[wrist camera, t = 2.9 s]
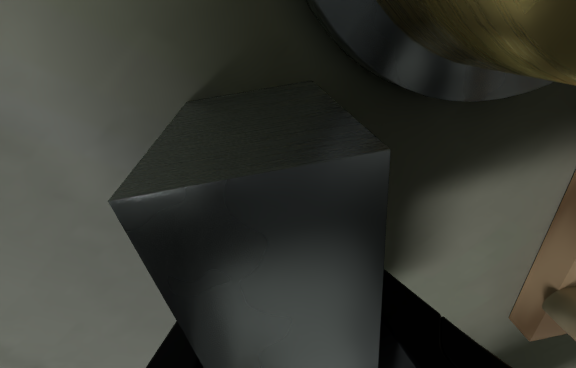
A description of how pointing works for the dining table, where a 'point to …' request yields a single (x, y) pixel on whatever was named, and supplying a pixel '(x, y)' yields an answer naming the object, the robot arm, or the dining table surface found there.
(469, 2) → the brass disc with block
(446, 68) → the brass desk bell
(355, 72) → the dining table surface
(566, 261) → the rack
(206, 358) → the long grey slab
